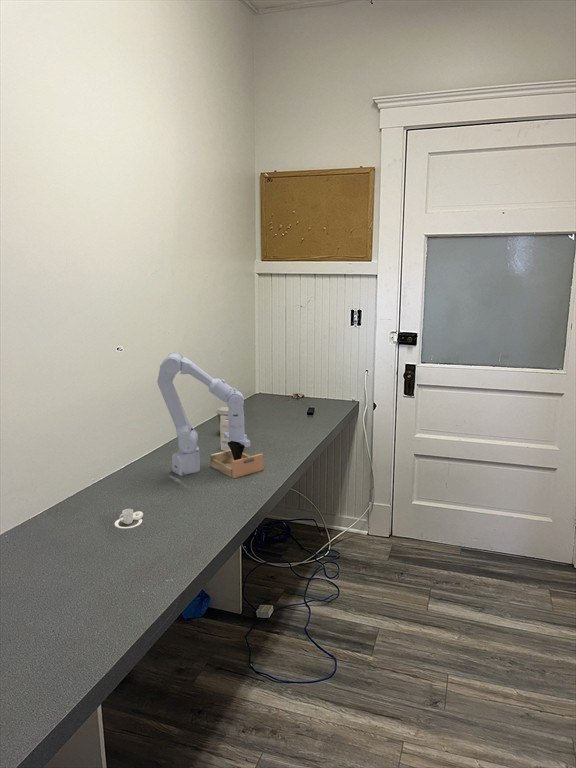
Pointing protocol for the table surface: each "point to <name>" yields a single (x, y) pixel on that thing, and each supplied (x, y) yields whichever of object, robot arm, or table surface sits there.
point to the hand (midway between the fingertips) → (237, 460)
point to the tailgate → (247, 465)
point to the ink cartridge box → (223, 429)
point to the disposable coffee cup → (222, 412)
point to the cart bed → (224, 461)
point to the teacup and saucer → (129, 518)
